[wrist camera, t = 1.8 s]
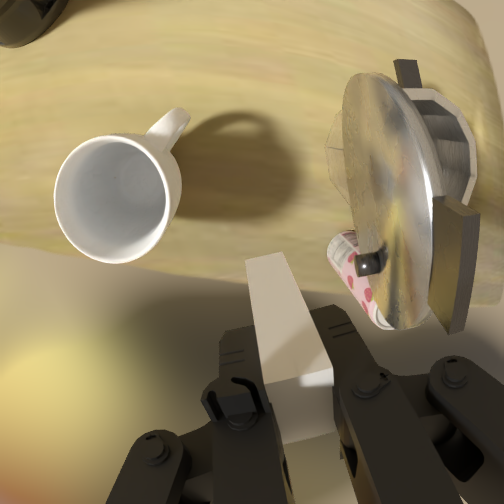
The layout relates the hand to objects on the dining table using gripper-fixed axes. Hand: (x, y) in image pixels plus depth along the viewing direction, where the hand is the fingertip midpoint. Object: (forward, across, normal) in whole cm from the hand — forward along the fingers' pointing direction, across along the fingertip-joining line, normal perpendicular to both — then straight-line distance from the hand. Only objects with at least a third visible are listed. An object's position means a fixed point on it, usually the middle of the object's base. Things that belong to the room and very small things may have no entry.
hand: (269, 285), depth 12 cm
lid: (+6, +9, 0) cm, 11 cm away
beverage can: (+26, +12, -12) cm, 30 cm away
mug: (+25, -10, +4) cm, 28 cm away
